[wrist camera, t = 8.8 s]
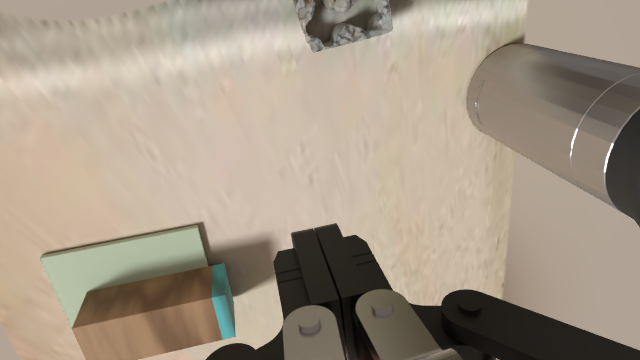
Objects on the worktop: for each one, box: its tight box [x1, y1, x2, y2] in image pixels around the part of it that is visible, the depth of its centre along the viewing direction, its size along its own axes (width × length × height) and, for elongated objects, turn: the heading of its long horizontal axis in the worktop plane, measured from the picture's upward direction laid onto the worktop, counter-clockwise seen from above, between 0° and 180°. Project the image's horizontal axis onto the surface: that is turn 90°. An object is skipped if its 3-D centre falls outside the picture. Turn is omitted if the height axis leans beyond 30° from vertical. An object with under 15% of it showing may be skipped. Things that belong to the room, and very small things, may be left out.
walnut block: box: [72, 263, 236, 360], centre depth 42 cm, size 5×5×13 cm
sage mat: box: [40, 225, 208, 328], centre depth 44 cm, size 14×14×1 cm
